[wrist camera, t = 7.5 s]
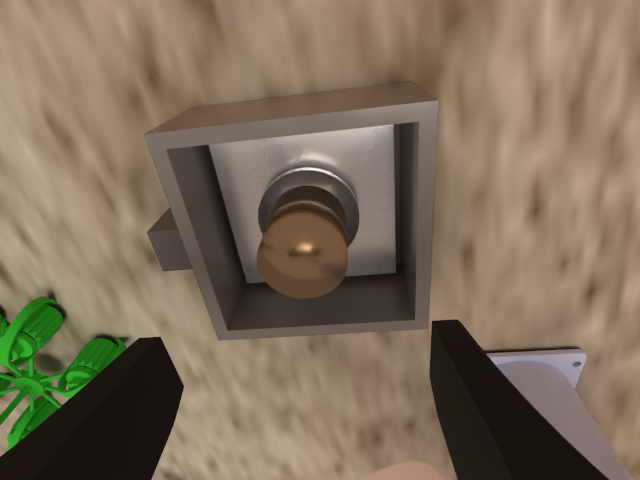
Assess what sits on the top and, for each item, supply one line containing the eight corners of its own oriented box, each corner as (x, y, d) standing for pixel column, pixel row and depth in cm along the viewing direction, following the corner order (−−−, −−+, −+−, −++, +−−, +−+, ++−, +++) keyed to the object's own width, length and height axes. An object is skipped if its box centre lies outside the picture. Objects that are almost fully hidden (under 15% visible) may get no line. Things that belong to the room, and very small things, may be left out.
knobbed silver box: (409, 266, 21) (428, 328, 16) (216, 280, 22) (187, 342, 18) (411, 80, 16) (438, 100, 11) (161, 110, 17) (100, 139, 13)
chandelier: (-76, 243, 21) (-234, 327, 16) (172, 321, 24) (118, 419, 18) (-47, 389, 29) (-147, 484, 23) (141, 438, 31) (95, 535, 25)
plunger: (394, 267, 19) (410, 334, 15) (248, 277, 20) (225, 344, 16) (391, 112, 15) (412, 144, 11) (209, 133, 16) (163, 171, 12)
